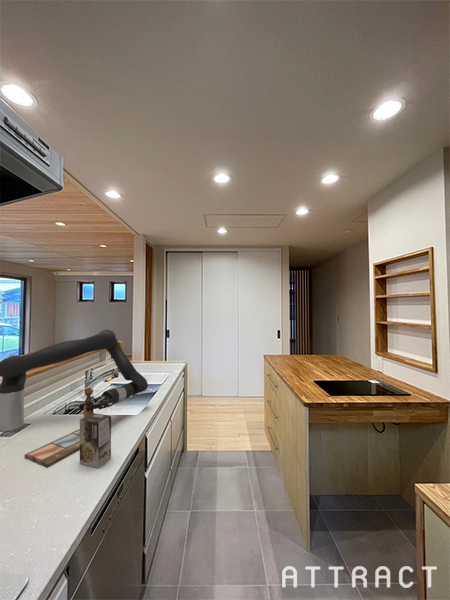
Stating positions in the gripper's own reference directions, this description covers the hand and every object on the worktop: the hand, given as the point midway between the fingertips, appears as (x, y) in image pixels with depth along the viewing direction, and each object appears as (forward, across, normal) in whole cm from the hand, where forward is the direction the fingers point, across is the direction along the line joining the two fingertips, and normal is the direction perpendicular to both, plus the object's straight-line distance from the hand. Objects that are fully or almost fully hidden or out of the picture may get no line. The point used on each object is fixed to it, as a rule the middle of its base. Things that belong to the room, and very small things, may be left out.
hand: (83, 408), depth 115 cm
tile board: (+6, +1, +12) cm, 14 cm away
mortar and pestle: (-3, 0, +10) cm, 11 cm away
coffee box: (+10, +20, +12) cm, 26 cm away
